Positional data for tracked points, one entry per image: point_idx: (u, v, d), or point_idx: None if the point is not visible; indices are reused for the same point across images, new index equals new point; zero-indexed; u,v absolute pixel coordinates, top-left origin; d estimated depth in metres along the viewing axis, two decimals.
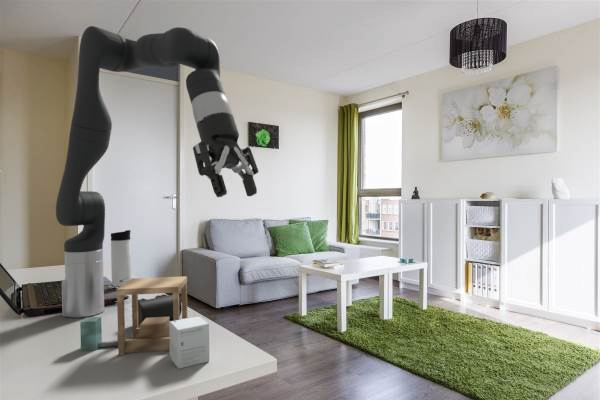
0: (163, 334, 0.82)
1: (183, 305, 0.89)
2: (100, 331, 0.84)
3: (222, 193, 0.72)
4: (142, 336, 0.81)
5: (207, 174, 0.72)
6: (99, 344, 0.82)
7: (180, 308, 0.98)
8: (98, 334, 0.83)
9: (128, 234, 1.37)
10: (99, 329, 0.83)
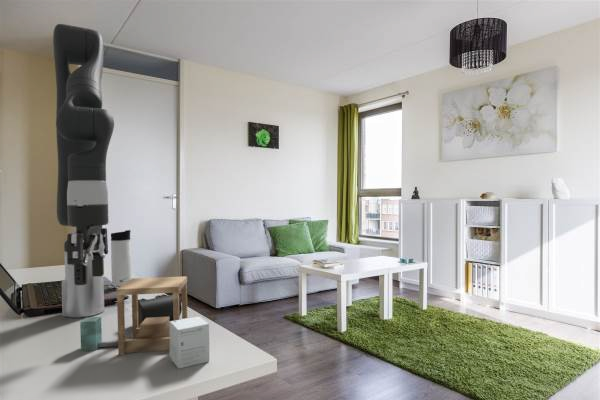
0: (163, 334, 0.82)
1: (183, 305, 0.89)
2: (100, 331, 0.84)
3: (83, 283, 0.78)
4: (142, 336, 0.81)
5: (75, 264, 0.76)
6: (99, 344, 0.82)
7: (180, 308, 0.98)
8: (98, 334, 0.83)
9: (128, 234, 1.37)
10: (99, 329, 0.83)
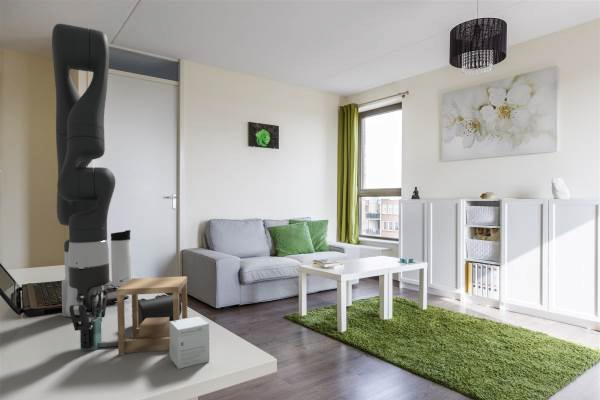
0: (163, 334, 0.82)
1: (183, 305, 0.89)
2: (99, 331, 0.84)
3: (89, 347, 0.81)
4: (141, 336, 0.81)
5: (82, 330, 0.79)
6: (99, 344, 0.82)
7: (180, 308, 0.98)
8: (98, 334, 0.83)
9: (128, 234, 1.37)
10: (99, 329, 0.83)
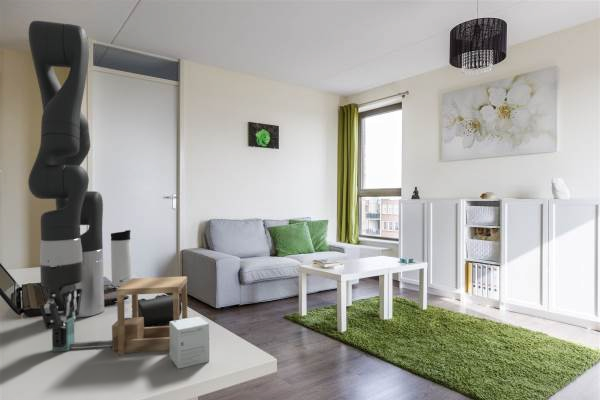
0: (136, 335, 0.82)
1: (183, 305, 0.89)
2: (72, 332, 0.83)
3: (62, 345, 0.80)
4: (114, 336, 0.81)
5: (53, 328, 0.78)
6: (71, 345, 0.82)
7: (180, 308, 0.98)
8: (70, 335, 0.82)
9: (128, 234, 1.37)
10: (71, 330, 0.83)
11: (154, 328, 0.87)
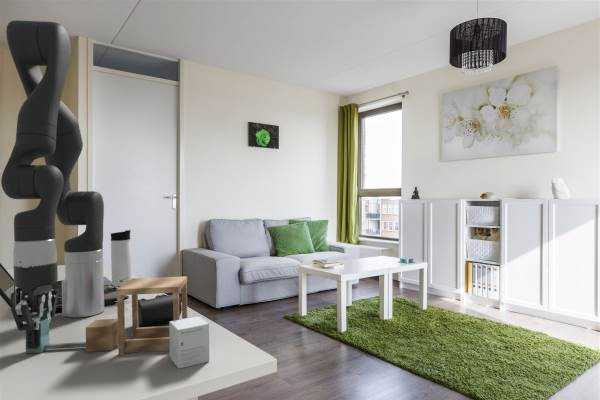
0: (110, 336, 0.81)
1: (183, 305, 0.89)
2: (47, 333, 0.82)
3: (35, 347, 0.79)
4: (88, 338, 0.80)
5: (26, 330, 0.78)
6: (45, 346, 0.81)
7: (180, 308, 0.98)
8: (45, 337, 0.82)
9: (128, 234, 1.37)
10: (46, 331, 0.82)
11: (154, 328, 0.87)
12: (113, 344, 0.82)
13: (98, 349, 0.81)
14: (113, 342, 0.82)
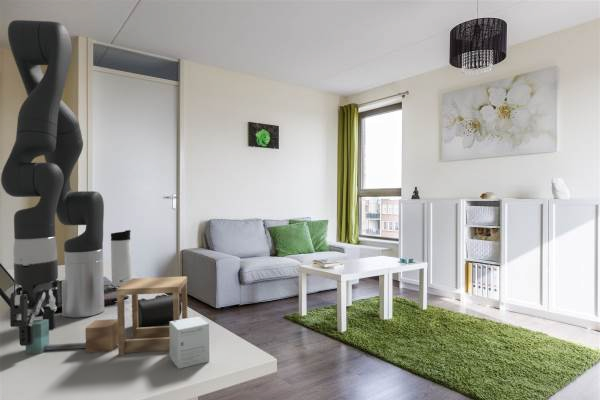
0: (110, 337, 0.81)
1: (183, 305, 0.89)
2: (47, 334, 0.82)
3: (28, 344, 0.77)
4: (88, 338, 0.80)
5: (19, 326, 0.75)
6: (45, 347, 0.81)
7: (180, 308, 0.98)
8: (44, 337, 0.82)
9: (128, 234, 1.37)
10: (46, 332, 0.82)
11: (154, 328, 0.87)
12: (113, 345, 0.82)
13: (98, 349, 0.81)
14: (113, 342, 0.82)
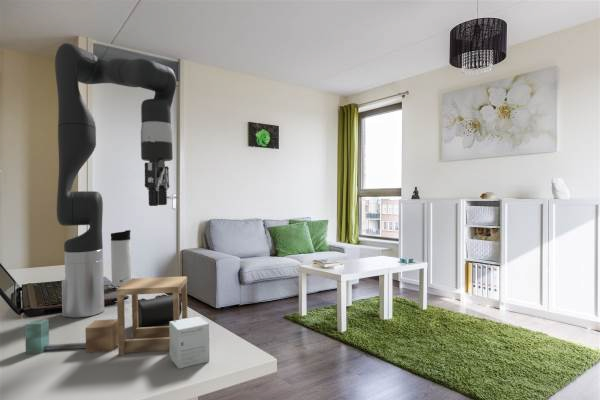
0: (110, 337, 0.81)
1: (183, 305, 0.89)
2: (47, 334, 0.82)
3: (155, 204, 0.96)
4: (88, 338, 0.80)
5: (150, 188, 0.94)
6: (45, 347, 0.81)
7: (180, 308, 0.98)
8: (44, 337, 0.82)
9: (128, 234, 1.37)
10: (46, 332, 0.82)
11: (154, 328, 0.87)
12: (113, 345, 0.82)
13: (98, 349, 0.81)
14: (113, 342, 0.82)
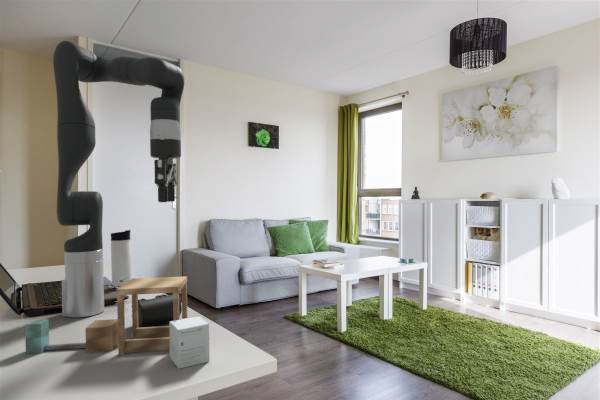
0: (110, 337, 0.81)
1: (183, 305, 0.89)
2: (47, 334, 0.82)
3: (165, 201, 0.97)
4: (88, 338, 0.80)
5: (160, 184, 0.96)
6: (45, 347, 0.81)
7: (180, 308, 0.98)
8: (44, 337, 0.82)
9: (128, 234, 1.37)
10: (46, 332, 0.82)
11: (154, 328, 0.87)
12: (113, 345, 0.82)
13: (98, 349, 0.81)
14: (113, 342, 0.82)
